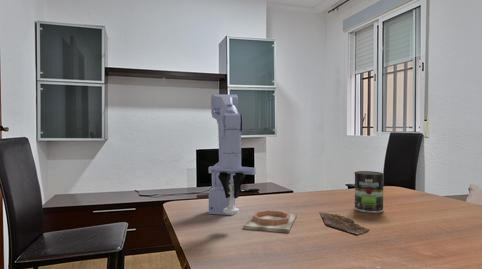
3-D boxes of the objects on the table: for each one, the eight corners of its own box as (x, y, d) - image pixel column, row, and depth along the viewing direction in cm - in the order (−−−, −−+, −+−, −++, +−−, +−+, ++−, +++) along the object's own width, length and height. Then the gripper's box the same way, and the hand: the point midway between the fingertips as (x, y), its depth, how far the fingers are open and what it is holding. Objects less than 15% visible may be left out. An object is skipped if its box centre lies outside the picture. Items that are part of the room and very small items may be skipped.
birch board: (243, 228, 98) (243, 225, 98) (257, 214, 115) (257, 211, 115) (289, 232, 94) (289, 229, 94) (296, 217, 111) (296, 214, 111)
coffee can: (384, 214, 114) (384, 175, 114) (353, 211, 118) (353, 173, 118) (383, 207, 123) (383, 171, 123) (355, 205, 127) (355, 170, 127)
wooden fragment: (376, 235, 92) (376, 231, 92) (340, 237, 90) (340, 233, 90) (337, 213, 117) (337, 210, 117) (309, 214, 116) (309, 211, 116)
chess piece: (223, 209, 99) (223, 177, 99) (238, 209, 99) (239, 177, 99) (223, 213, 94) (224, 179, 94) (240, 213, 94) (240, 179, 94)
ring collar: (250, 223, 100) (250, 218, 100) (258, 213, 111) (258, 209, 111) (286, 226, 97) (286, 221, 97) (291, 216, 108) (291, 211, 108)
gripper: (204, 153, 95) (204, 198, 95) (251, 154, 90) (251, 201, 91) (213, 151, 101) (213, 194, 102) (257, 152, 97) (257, 196, 97)
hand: (232, 197), depth 96 cm, fingers closed on chess piece, 2 cm apart
